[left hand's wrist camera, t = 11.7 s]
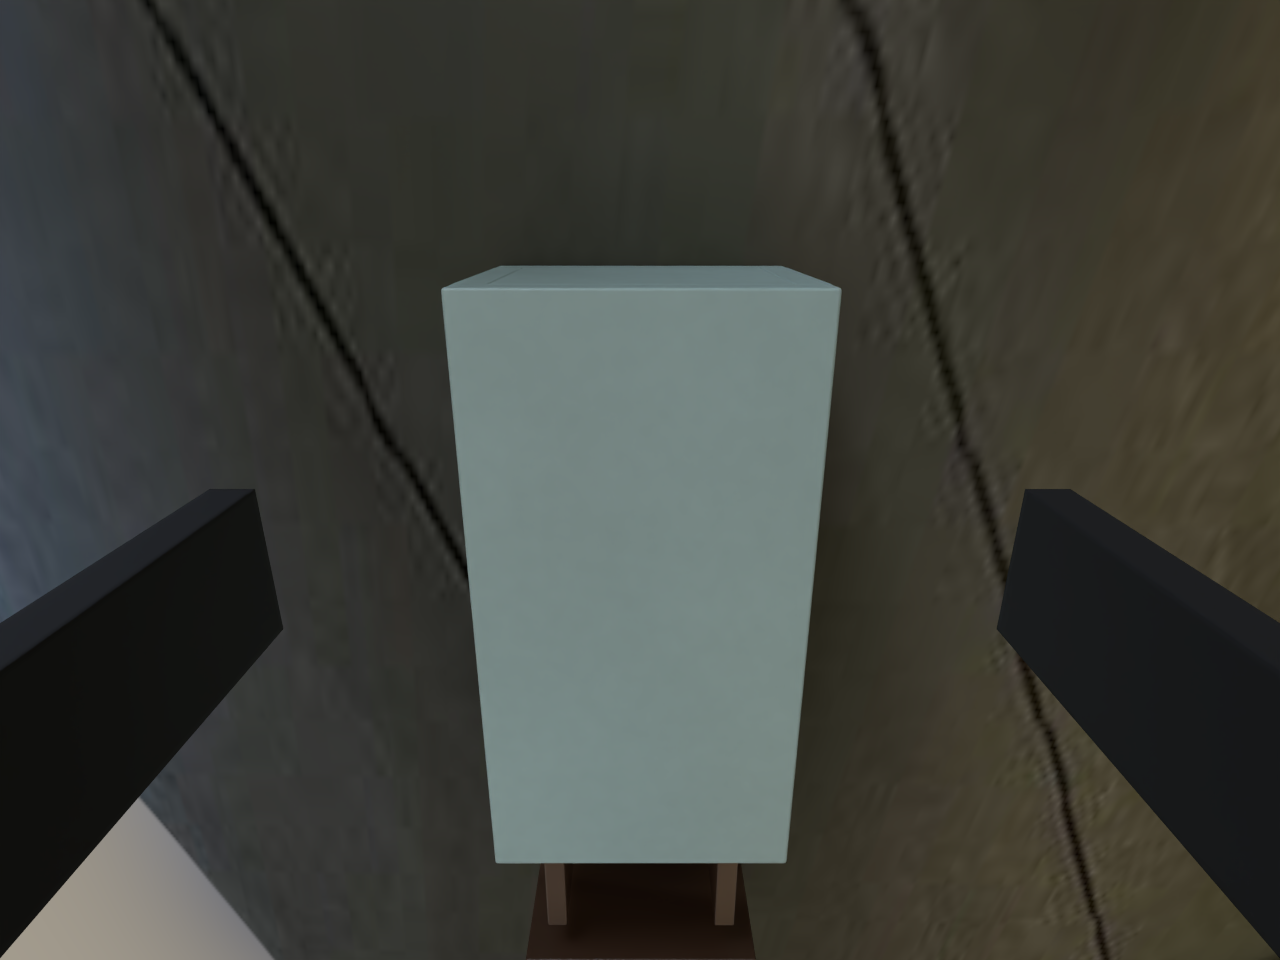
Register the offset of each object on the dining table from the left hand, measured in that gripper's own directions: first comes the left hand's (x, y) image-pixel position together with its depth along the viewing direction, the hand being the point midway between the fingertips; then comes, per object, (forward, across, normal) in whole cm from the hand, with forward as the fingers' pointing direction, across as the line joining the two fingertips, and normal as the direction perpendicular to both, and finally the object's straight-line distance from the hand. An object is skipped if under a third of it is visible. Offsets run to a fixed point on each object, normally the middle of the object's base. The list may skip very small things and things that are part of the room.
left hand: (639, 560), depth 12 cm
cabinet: (+17, 0, -6) cm, 18 cm away
